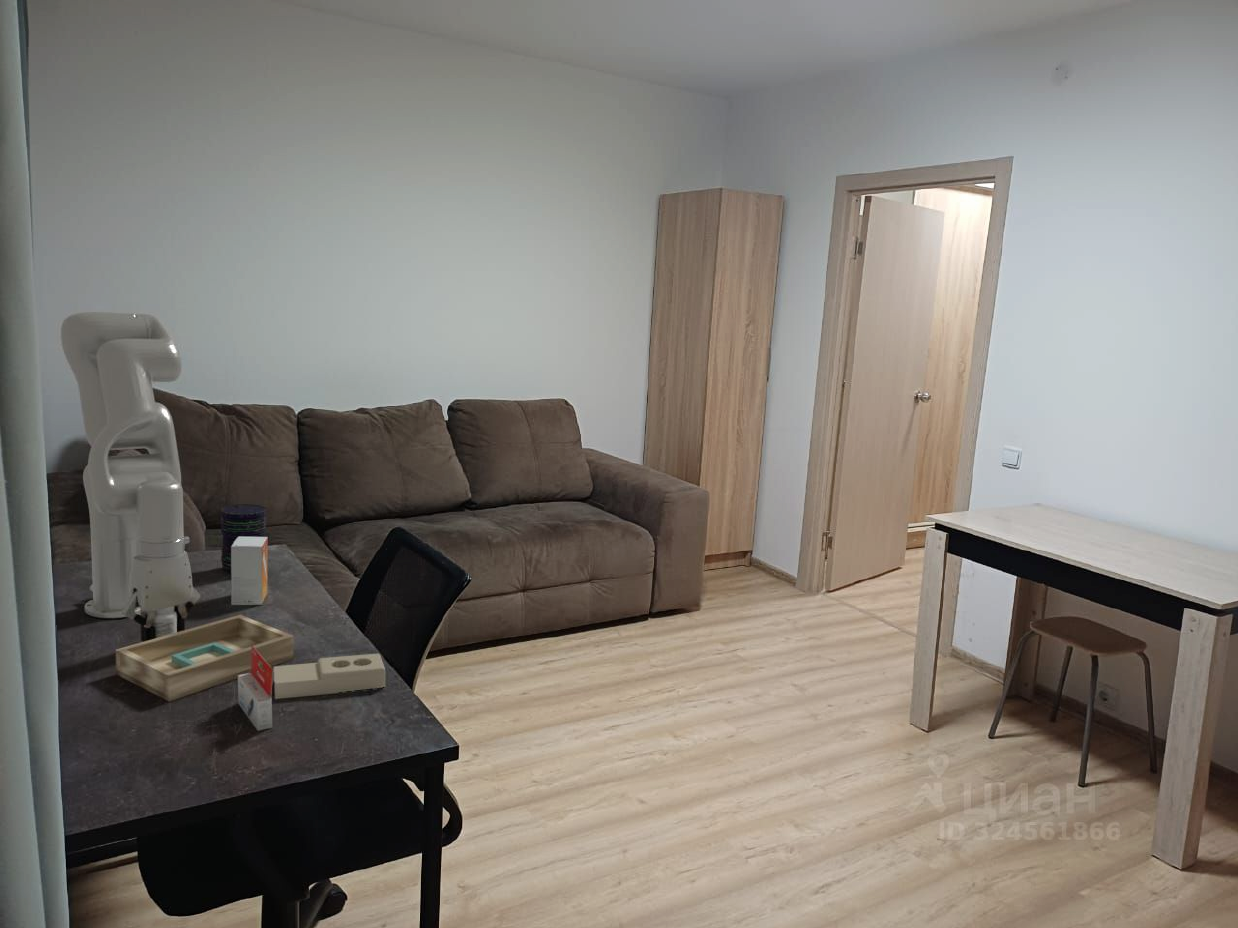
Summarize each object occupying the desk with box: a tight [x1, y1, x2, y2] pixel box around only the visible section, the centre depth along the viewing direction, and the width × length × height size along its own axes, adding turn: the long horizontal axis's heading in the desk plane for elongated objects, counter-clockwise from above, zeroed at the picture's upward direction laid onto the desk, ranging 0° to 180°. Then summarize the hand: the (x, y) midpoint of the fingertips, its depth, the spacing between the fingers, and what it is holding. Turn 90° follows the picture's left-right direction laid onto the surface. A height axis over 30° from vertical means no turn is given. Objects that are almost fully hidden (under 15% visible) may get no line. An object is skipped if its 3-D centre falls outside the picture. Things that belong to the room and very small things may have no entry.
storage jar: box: [220, 503, 267, 577], centre depth 216 cm, size 10×10×15 cm
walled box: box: [115, 614, 295, 702], centre depth 163 cm, size 16×24×4 cm, turn 147°
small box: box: [230, 536, 269, 606], centre depth 197 cm, size 8×6×13 cm
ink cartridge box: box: [237, 646, 274, 732], centre depth 146 cm, size 2×11×10 cm, turn 37°
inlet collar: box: [171, 642, 235, 667], centre depth 163 cm, size 8×8×1 cm
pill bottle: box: [152, 606, 177, 638], centre depth 170 cm, size 5×5×8 cm
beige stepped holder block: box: [273, 653, 386, 700], centre depth 160 cm, size 7×4×18 cm
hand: (163, 640), depth 171 cm, fingers closed on pill bottle, 4 cm apart
